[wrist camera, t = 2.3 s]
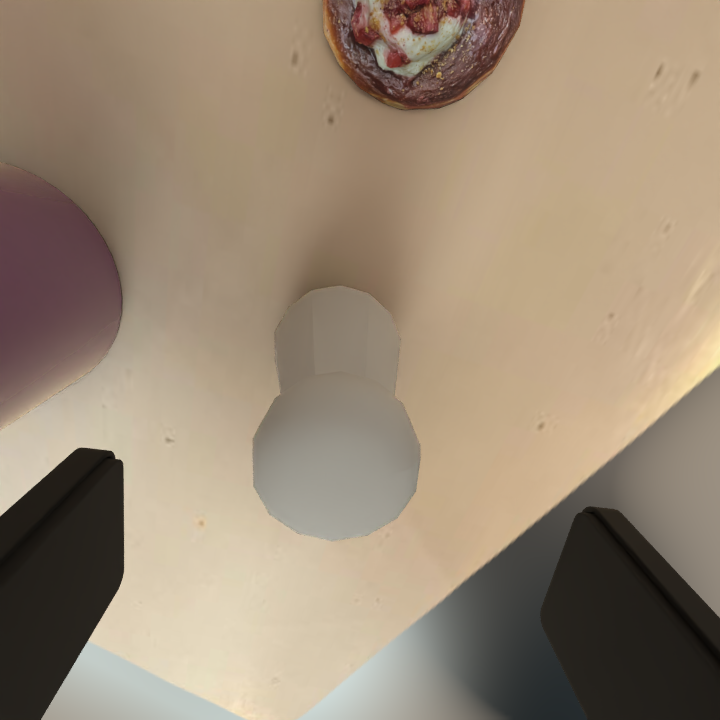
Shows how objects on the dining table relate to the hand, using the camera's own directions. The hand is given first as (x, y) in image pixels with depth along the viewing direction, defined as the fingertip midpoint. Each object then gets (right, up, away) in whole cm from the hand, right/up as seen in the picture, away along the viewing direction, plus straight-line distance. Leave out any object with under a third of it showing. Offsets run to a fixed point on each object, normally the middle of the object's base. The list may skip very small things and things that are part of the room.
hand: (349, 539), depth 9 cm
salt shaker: (-1, +5, +14) cm, 15 cm away
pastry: (+3, +18, +9) cm, 21 cm away
